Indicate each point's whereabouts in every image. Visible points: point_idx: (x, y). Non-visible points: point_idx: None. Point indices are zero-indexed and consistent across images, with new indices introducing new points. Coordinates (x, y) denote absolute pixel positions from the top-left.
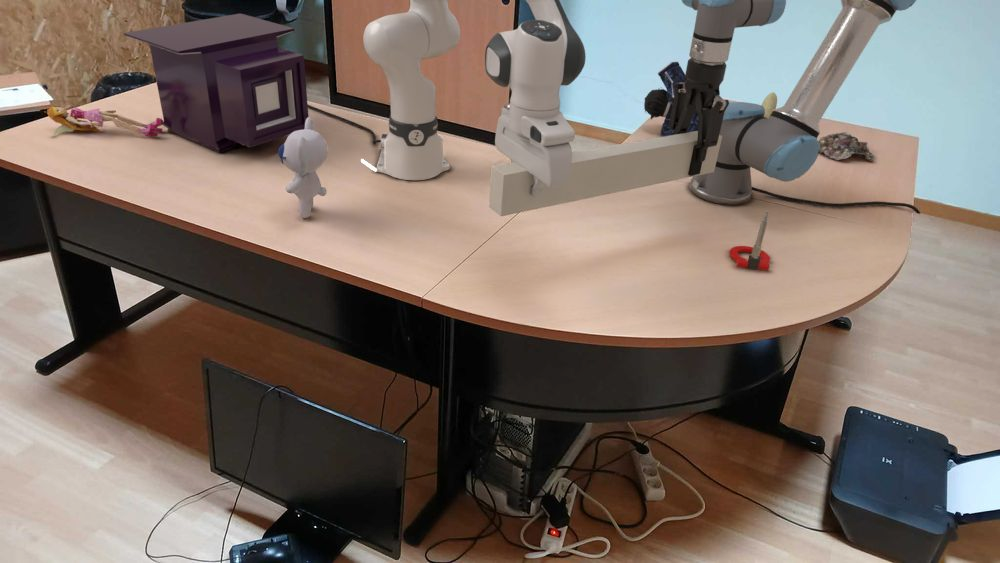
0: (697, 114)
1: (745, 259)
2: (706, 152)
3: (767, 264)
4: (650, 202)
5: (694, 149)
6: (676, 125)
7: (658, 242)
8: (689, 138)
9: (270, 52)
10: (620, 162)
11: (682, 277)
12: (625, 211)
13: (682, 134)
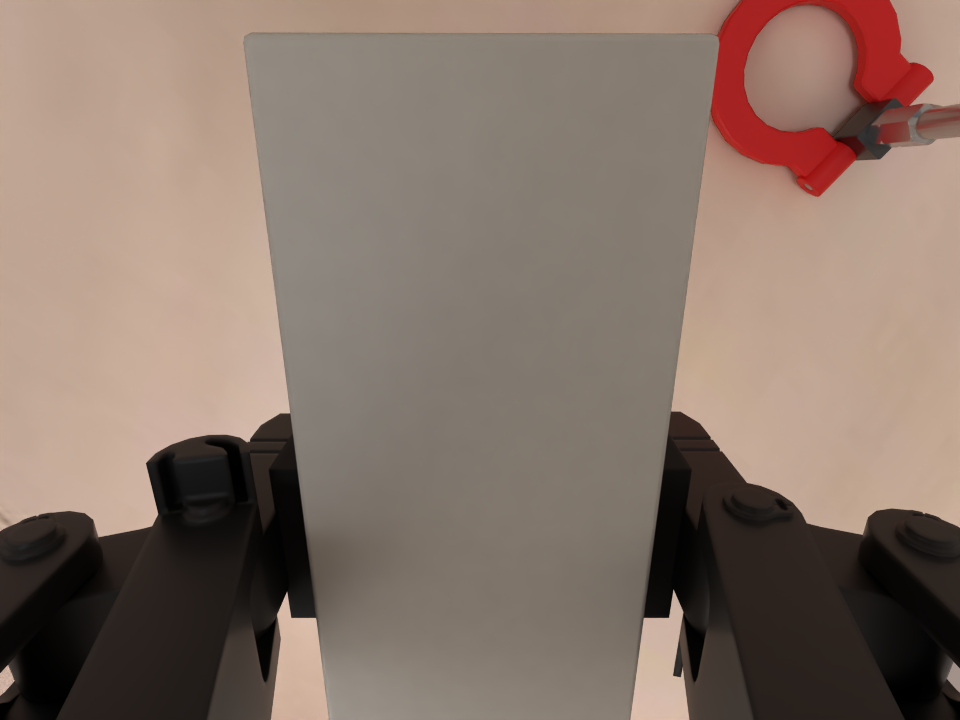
0: None
1: (823, 136)
2: (731, 466)
3: (924, 81)
4: (147, 103)
5: None
6: (83, 660)
7: None
8: (531, 679)
9: None
10: None
11: (722, 426)
12: (207, 286)
13: (362, 667)
